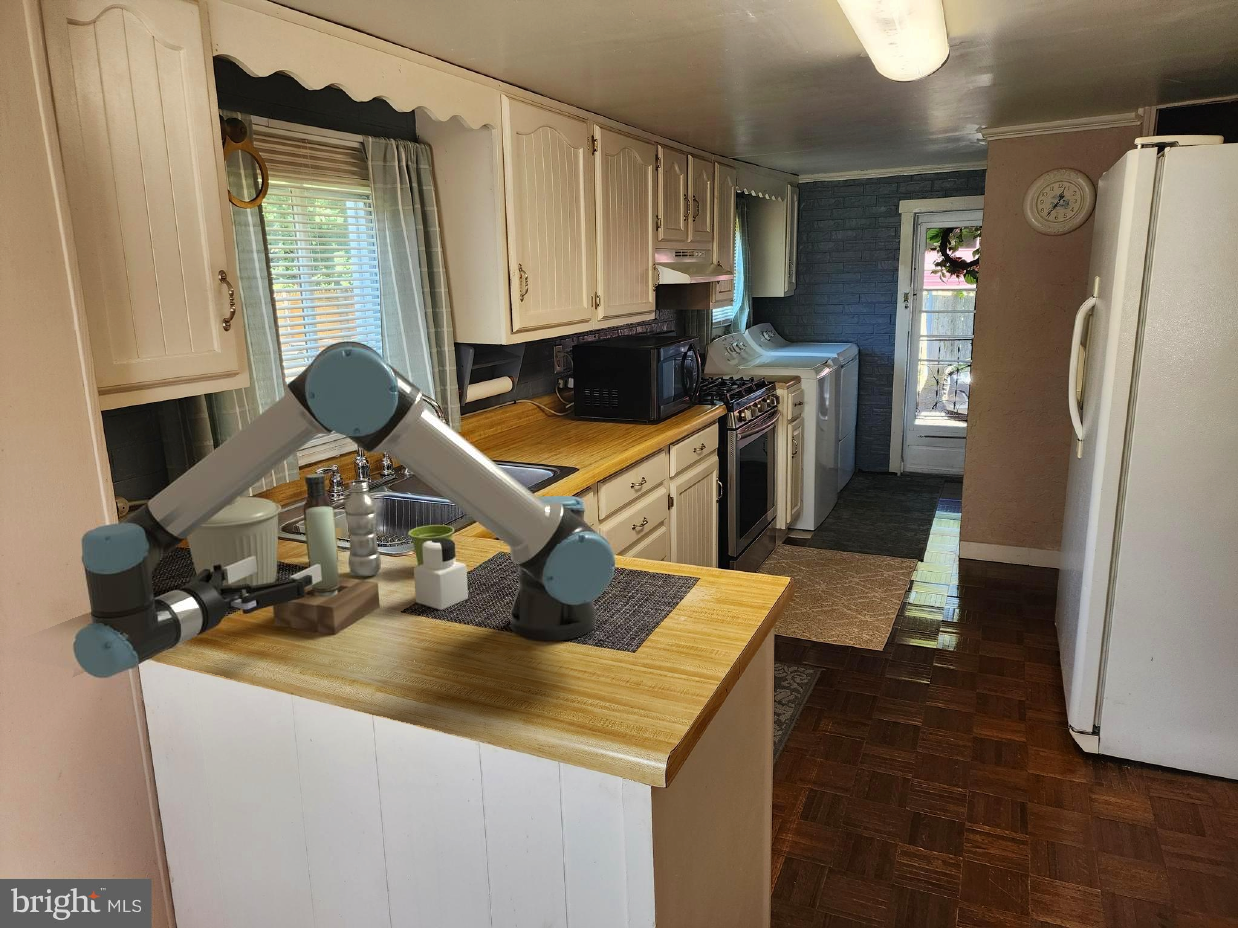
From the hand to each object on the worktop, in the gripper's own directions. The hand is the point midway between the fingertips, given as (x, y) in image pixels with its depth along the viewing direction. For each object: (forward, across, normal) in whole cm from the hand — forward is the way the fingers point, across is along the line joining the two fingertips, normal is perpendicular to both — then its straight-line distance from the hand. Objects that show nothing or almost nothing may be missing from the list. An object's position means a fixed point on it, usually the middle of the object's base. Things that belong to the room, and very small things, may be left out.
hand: (286, 567), depth 144 cm
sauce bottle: (+33, -20, -12) cm, 41 cm away
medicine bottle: (+22, +16, -12) cm, 30 cm away
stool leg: (+9, 0, -12) cm, 15 cm away
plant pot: (+37, +5, -12) cm, 39 cm away
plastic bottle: (+30, -7, -12) cm, 33 cm away
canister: (+14, -25, -13) cm, 31 cm away
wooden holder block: (+9, 0, -12) cm, 15 cm away
